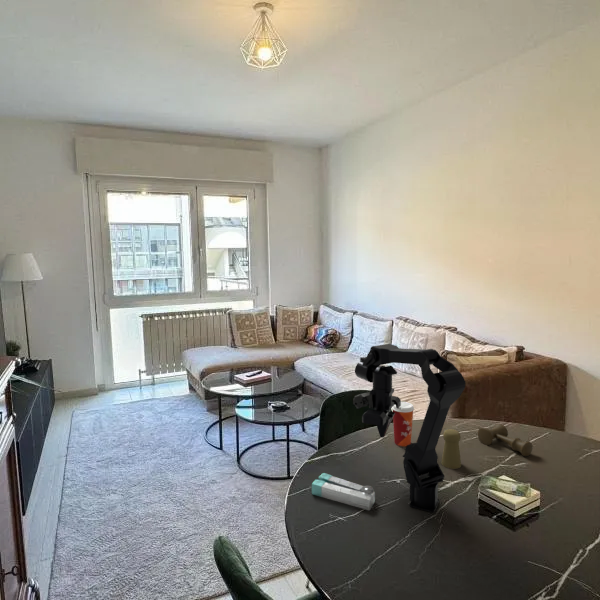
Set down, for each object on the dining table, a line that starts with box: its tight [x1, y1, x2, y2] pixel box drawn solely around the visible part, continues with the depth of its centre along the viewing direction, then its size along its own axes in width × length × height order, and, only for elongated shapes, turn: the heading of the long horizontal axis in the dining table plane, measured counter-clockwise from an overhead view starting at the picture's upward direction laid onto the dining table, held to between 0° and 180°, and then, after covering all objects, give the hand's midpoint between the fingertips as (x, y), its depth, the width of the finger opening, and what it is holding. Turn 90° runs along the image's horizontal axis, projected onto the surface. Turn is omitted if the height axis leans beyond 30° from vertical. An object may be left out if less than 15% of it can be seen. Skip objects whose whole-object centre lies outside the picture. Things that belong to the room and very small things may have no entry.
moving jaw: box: [318, 472, 364, 492], centre depth 126 cm, size 13×3×3 cm, turn 56°
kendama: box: [477, 423, 534, 458], centre depth 154 cm, size 6×10×20 cm
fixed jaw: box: [311, 478, 376, 511], centre depth 123 cm, size 17×6×4 cm, turn 61°
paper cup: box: [391, 401, 415, 447], centre depth 156 cm, size 8×8×14 cm
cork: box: [440, 428, 462, 470], centre depth 140 cm, size 6×6×11 cm
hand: (382, 436), depth 134 cm, fingers closed
